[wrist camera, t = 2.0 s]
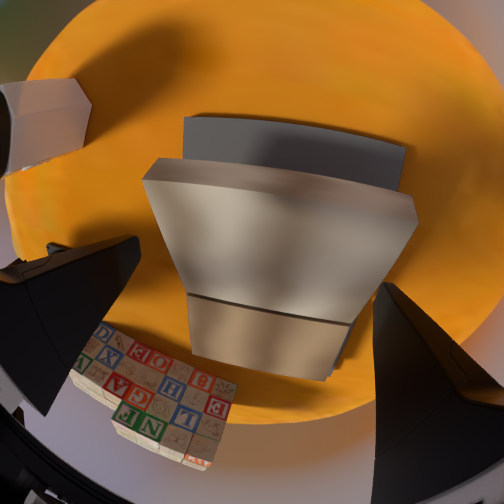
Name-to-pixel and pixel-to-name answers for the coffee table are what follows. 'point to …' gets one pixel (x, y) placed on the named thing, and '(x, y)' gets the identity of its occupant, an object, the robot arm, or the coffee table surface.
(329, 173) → the underlay mat
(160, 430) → the stack of blocks
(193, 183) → the ash plank
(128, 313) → the coffee table surface
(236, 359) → the oak board
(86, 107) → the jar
